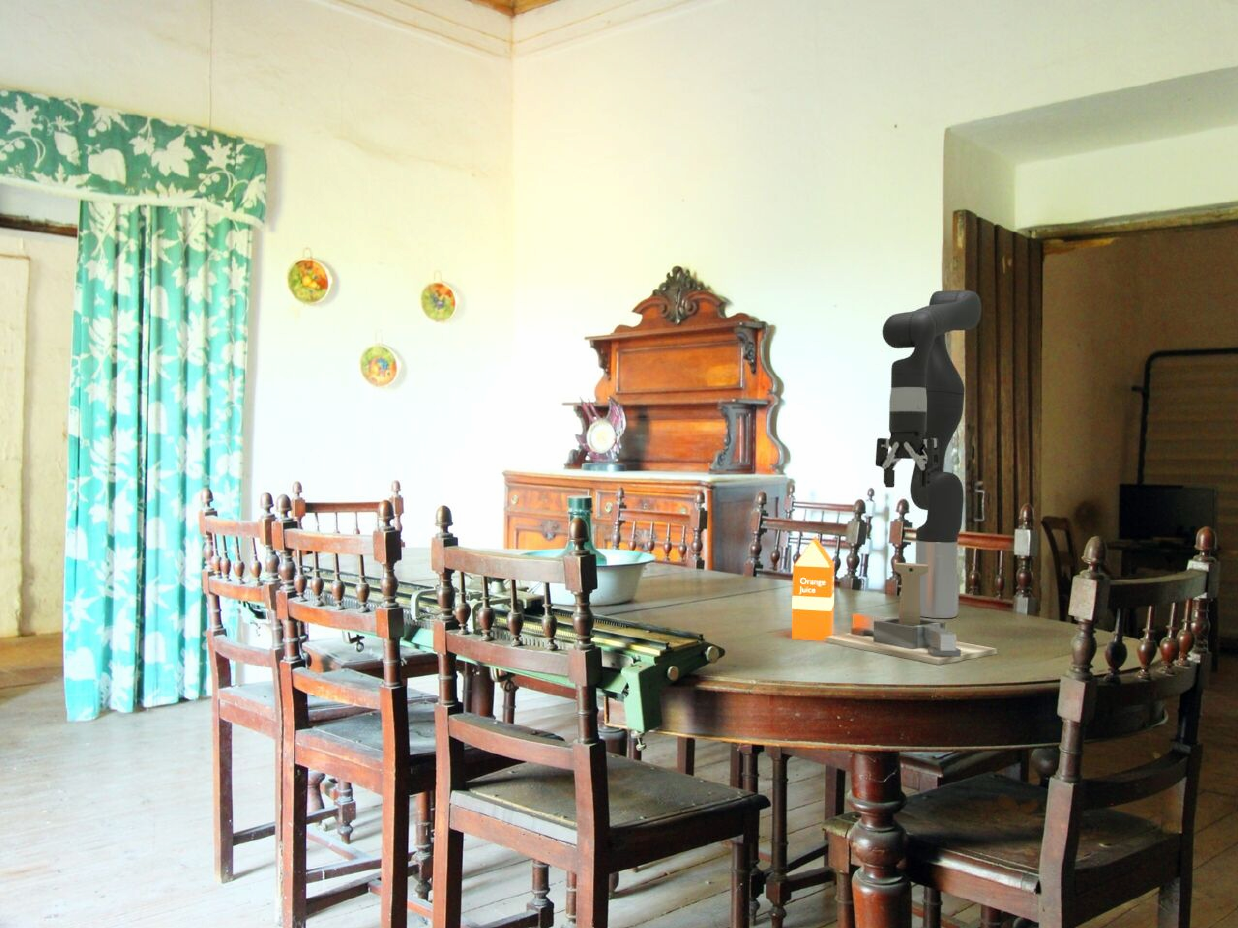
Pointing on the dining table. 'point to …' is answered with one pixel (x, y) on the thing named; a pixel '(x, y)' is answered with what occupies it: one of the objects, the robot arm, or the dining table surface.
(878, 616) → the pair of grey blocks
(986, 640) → the dining table surface
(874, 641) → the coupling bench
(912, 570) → the handle
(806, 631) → the orange juice
